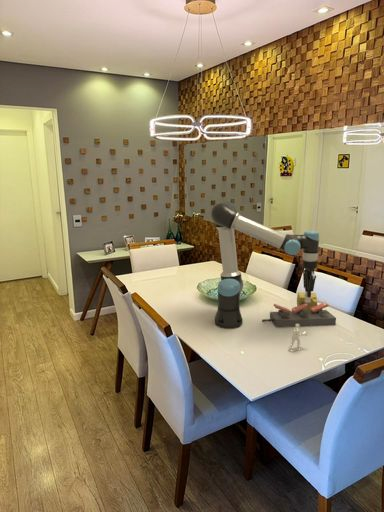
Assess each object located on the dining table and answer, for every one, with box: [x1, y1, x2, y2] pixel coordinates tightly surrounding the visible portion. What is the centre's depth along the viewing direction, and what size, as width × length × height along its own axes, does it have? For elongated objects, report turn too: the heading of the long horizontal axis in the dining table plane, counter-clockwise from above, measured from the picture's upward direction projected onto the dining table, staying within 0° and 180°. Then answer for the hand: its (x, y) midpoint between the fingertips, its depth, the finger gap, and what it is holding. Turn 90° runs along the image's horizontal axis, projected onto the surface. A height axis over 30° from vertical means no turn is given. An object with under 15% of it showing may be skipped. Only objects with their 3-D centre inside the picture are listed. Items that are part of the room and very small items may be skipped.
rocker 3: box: [310, 301, 329, 312], centre depth 194 cm, size 9×4×2 cm, turn 93°
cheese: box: [296, 291, 318, 311], centre depth 207 cm, size 10×11×10 cm
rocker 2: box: [291, 303, 310, 313], centre depth 193 cm, size 9×4×2 cm, turn 94°
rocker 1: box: [273, 303, 292, 313], centre depth 193 cm, size 9×4×2 cm, turn 94°
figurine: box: [288, 324, 308, 353], centre depth 161 cm, size 5×9×12 cm, turn 124°
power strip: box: [261, 309, 337, 328], centre depth 192 cm, size 38×12×6 cm, turn 94°
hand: (307, 302), depth 193 cm, fingers closed
